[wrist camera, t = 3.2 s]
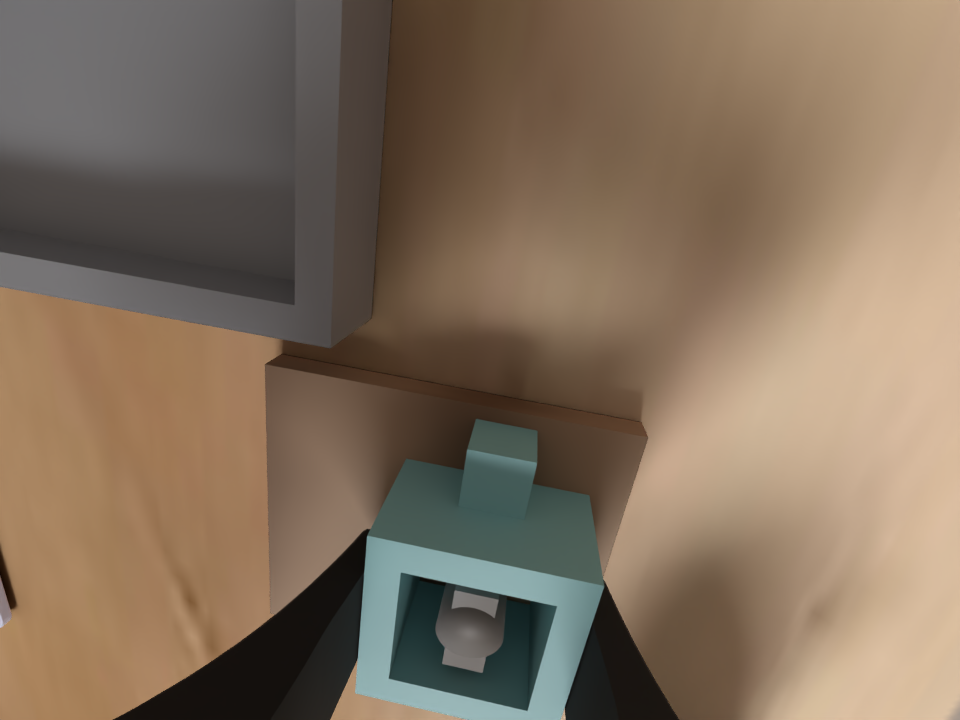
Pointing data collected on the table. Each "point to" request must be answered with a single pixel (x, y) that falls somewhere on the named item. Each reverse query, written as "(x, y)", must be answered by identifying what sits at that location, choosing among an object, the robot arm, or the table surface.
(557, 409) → the board
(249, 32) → the tray
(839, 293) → the table surface
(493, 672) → the teal ring
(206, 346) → the table surface
